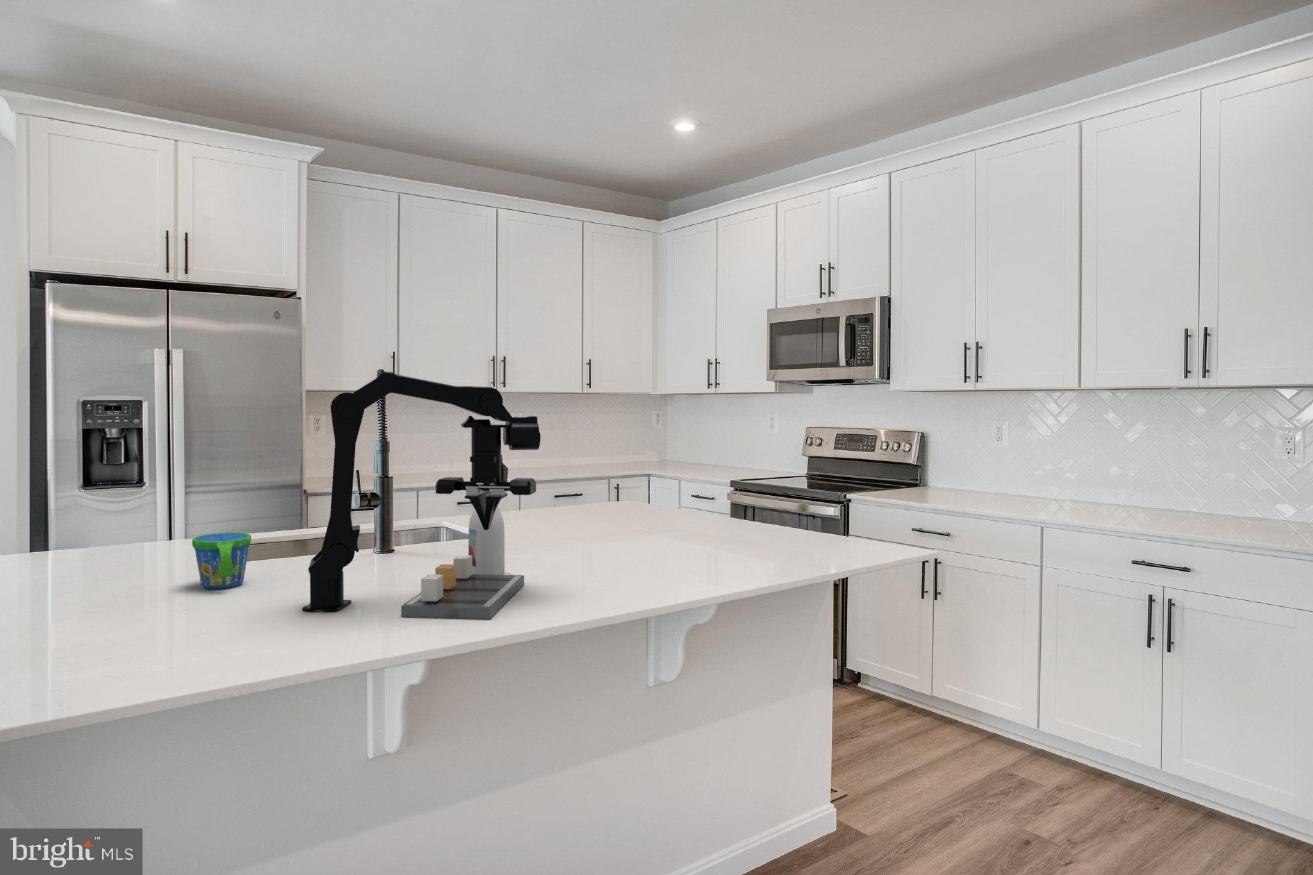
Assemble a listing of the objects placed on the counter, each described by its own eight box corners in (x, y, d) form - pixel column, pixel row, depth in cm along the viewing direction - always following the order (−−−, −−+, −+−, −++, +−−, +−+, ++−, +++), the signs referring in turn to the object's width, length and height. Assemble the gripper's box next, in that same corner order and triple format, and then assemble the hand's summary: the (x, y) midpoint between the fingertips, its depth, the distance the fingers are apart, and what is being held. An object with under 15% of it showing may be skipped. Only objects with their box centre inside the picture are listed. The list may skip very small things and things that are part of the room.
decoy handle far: (467, 578, 157) (466, 558, 157) (453, 578, 158) (453, 558, 157) (472, 574, 161) (472, 555, 161) (459, 574, 161) (459, 555, 161)
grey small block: (436, 601, 139) (436, 579, 139) (421, 600, 140) (421, 578, 139) (443, 596, 143) (443, 574, 143) (428, 595, 143) (428, 574, 143)
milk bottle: (508, 573, 174) (508, 484, 173) (498, 580, 166) (498, 487, 165) (475, 571, 174) (475, 483, 173) (463, 579, 167) (463, 487, 166)
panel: (490, 619, 137) (490, 607, 137) (401, 617, 138) (401, 605, 138) (524, 584, 163) (524, 575, 163) (449, 582, 164) (449, 573, 163)
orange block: (449, 589, 148) (449, 568, 148) (435, 588, 149) (435, 568, 148) (455, 584, 152) (455, 564, 152) (441, 584, 152) (441, 564, 152)
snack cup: (252, 591, 155) (251, 540, 154) (190, 597, 150) (189, 544, 150) (251, 575, 169) (251, 529, 168) (195, 580, 164) (194, 532, 163)
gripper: (541, 448, 160) (541, 524, 161) (452, 447, 161) (453, 522, 162) (529, 452, 149) (529, 533, 150) (434, 451, 150) (434, 531, 151)
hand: (486, 529), depth 153 cm, fingers closed
